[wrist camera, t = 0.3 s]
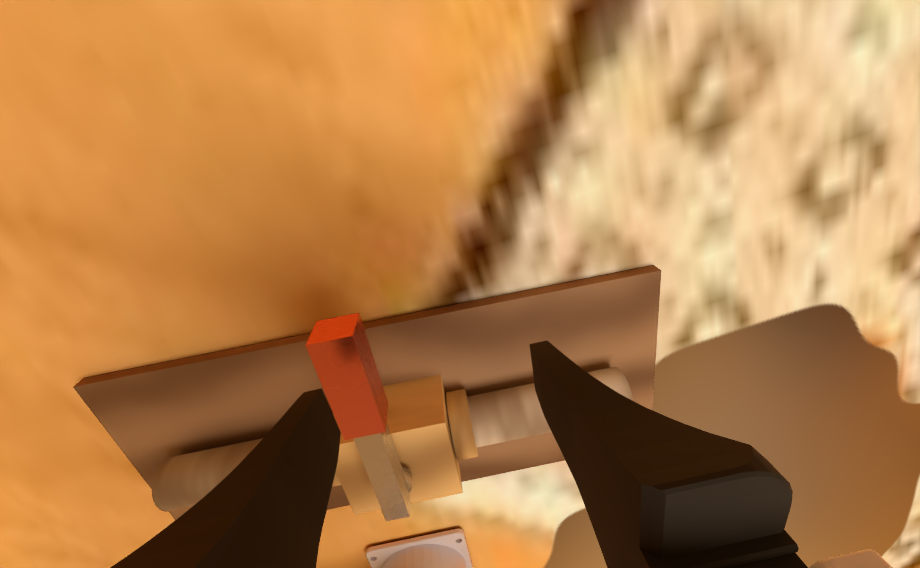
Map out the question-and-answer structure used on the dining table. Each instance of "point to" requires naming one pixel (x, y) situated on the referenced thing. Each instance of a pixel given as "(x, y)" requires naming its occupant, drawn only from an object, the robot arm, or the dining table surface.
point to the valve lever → (360, 406)
